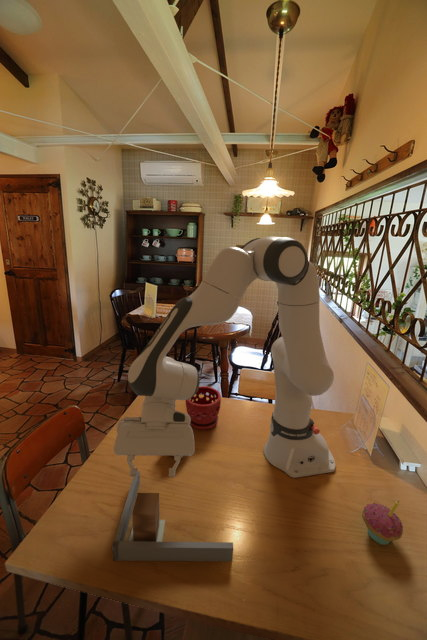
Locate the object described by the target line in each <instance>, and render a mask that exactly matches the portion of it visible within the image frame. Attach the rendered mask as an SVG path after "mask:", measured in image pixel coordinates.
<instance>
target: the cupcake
mask: <svg viewBox="0 0 427 640" xmlns="http://www.w3.org/2000/svg"><path fill="white" fill-rule="evenodd" d="M400 501H401V500H400V499H399V500H398V501H395V502H394V504H393V506H392V508H391V509H390V508H388V507H387V506H386V505H383V504H379V503H374V502H373V503H368V504H366V505H365V506H364V507H363V509H362V510H361V518H362V521H363V523H364V524H365V527H366V528H367V533H368V535H369V537H370V538H371V539H372V540H373V541H374V542H376V543H377V544H379V545H383V546H384V545H389V543H391V541H392V542H394V541H399V540H401V538H402V537H403V534H404V533H403V532H404V527H403V523H402V520H401V519H400V518H399V516H398V515H397V514H396V513H395V511H396V509H397V508H398V506H399V502H400Z"/></svg>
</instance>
